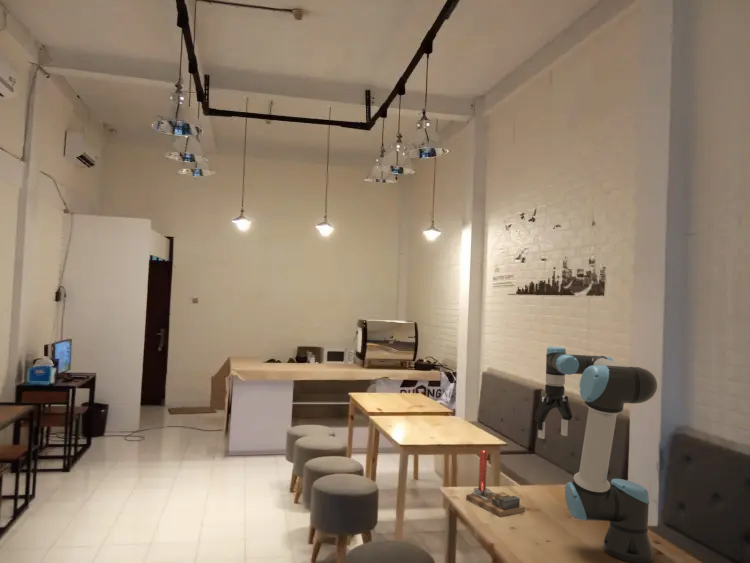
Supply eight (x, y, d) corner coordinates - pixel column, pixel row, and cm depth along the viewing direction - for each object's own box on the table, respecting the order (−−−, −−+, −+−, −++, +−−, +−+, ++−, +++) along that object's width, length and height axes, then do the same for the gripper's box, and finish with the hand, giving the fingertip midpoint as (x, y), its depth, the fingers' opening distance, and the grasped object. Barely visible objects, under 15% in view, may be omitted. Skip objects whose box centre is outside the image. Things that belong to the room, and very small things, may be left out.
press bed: (524, 512, 216) (525, 497, 216) (500, 517, 209) (501, 502, 209) (489, 495, 233) (490, 482, 233) (466, 499, 226) (466, 486, 226)
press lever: (495, 497, 224) (497, 452, 225) (485, 498, 222) (487, 453, 223) (483, 491, 231) (485, 448, 231) (473, 493, 228) (475, 449, 229)
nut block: (509, 505, 217) (509, 494, 217) (501, 506, 215) (502, 496, 215) (501, 501, 220) (502, 491, 220) (494, 503, 218) (495, 492, 218)
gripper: (567, 382, 233) (565, 432, 232) (526, 384, 220) (524, 437, 220) (582, 385, 227) (580, 436, 226) (540, 387, 214) (538, 441, 213)
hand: (552, 436), depth 223 cm, fingers open, 13 cm apart
